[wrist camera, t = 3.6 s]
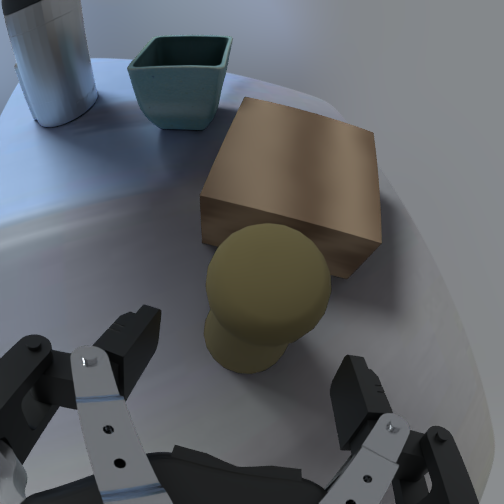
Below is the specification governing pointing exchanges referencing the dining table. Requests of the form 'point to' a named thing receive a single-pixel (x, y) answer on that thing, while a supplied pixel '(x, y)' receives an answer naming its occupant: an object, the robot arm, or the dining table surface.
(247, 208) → the walnut block
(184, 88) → the flower pot
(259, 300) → the cork
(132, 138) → the dining table surface
